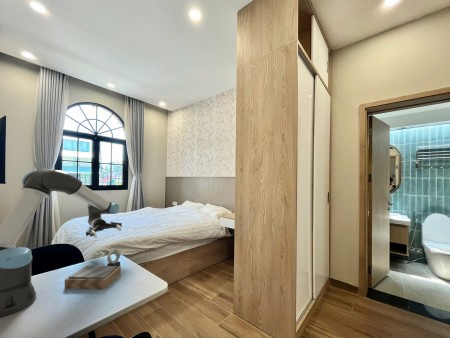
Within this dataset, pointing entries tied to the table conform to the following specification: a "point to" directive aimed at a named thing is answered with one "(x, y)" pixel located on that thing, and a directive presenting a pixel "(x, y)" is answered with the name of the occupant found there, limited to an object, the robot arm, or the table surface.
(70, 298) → the table surface
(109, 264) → the watch
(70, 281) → the riser
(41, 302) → the table surface
